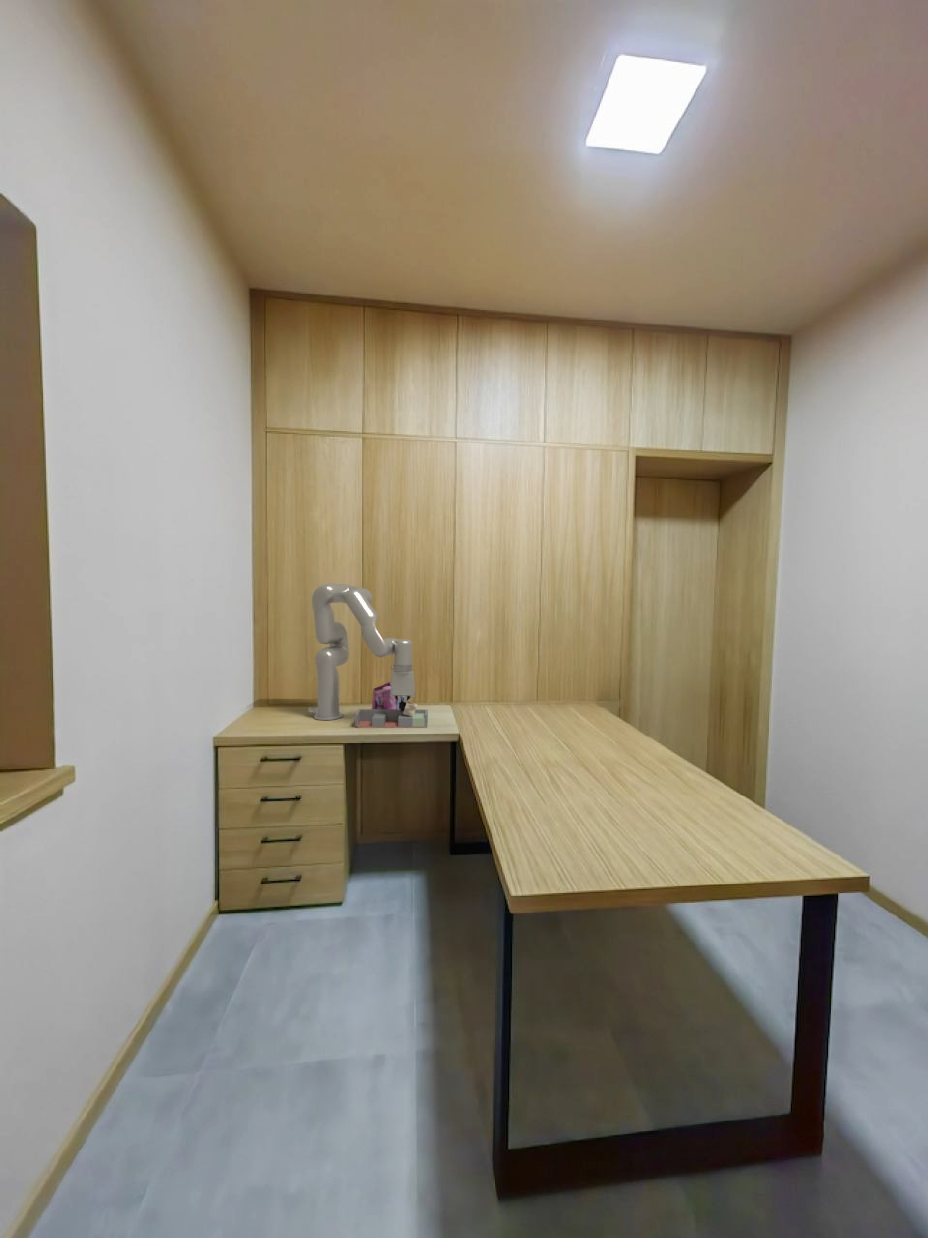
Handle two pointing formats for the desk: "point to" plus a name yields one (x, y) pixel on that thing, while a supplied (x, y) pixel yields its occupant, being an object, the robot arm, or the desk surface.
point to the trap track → (390, 718)
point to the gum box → (384, 698)
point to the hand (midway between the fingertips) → (402, 710)
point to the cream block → (410, 709)
